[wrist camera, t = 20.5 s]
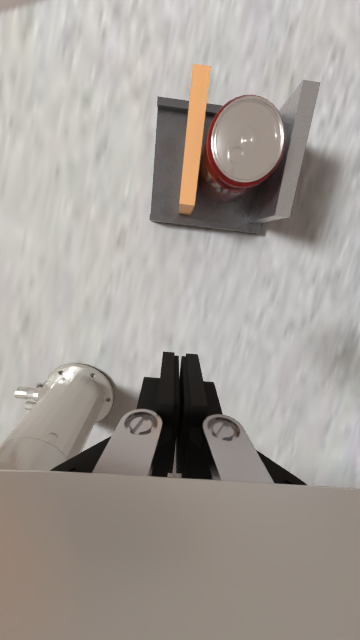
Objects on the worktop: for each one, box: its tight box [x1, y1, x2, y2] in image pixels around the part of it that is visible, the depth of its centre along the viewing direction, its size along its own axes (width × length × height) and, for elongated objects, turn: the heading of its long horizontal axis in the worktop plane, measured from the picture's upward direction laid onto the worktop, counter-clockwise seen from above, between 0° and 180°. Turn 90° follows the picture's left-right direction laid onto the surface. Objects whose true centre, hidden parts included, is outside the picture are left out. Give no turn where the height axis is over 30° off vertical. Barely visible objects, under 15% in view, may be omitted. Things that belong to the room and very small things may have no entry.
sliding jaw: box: [179, 64, 211, 215], centre depth 28 cm, size 2×11×10 cm, turn 173°
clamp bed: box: [150, 80, 320, 234], centre depth 29 cm, size 16×14×12 cm
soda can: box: [198, 95, 286, 204], centre depth 28 cm, size 7×7×12 cm
